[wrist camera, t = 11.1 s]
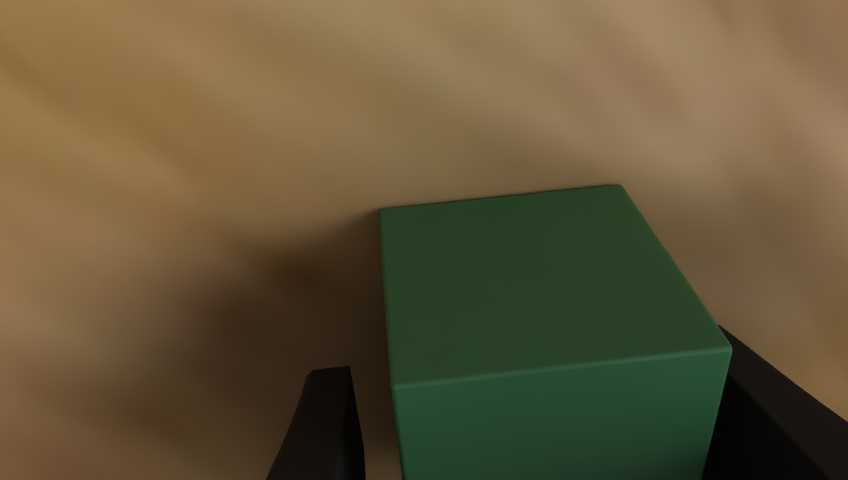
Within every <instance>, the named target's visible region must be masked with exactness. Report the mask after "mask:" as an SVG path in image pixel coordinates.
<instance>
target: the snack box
mask: <svg viewBox="0 0 848 480" xmlns="http://www.w3.org/2000/svg"><path fill="white" fill-rule="evenodd" d="M378 217H379V231H380V246H381V260H382V274H383V288H384V302H385V316H386V330H387V344H388V358H389V373H390V387H391V395H392V402H393V410H394V418H395V426H396V433H397V441H398V449H399V456H400V464H401V472H402V480H702V476H703V471H704V467H705V463H706V459H707V455H708V451H709V446H710V442H711V438H712V434H713V430H714V426H715V421H716V417H717V413H718V409H719V405H720V401H721V396H722V392H723V388H724V384H725V380H726V376H727V371H728V367H729V363H730V359H731V355H732V346H731V344H730V343H729V341H728V340H727V338H726V337H725V336H724V334H723V333H722V331H721V330H720V328H719V327H718V325H717V324H716V322H715V321H714V320H713V318H712V317H711V315H710V314H709V312H708V311H707V309H706V308H705V306H704V305H703V303H702V302H701V301H700V299H699V298H698V296H697V295H696V293H695V292H694V290H693V289H692V287H691V286H690V285H689V283H688V282H687V280H686V279H685V277H684V276H683V274H682V273H681V271H680V270H679V268H678V267H677V266H676V264H675V263H674V261H673V260H672V258H671V257H670V255H669V254H668V252H667V251H666V250H665V248H664V247H663V245H662V244H661V242H660V241H659V239H658V238H657V236H656V235H655V233H654V232H653V231H652V229H651V228H650V226H649V225H648V223H647V222H646V220H645V219H644V217H643V216H642V215H641V213H640V212H639V210H638V209H637V207H636V206H635V204H634V203H633V201H632V200H631V198H630V197H629V196H628V194H627V193H626V191H625V190H624V188H623V187H622V186H621V185H610V186H601V187H591V188H581V189H572V190H562V191H552V192H543V193H533V194H524V195H514V196H504V197H495V198H485V199H476V200H466V201H456V202H447V203H437V204H427V205H418V206H408V207H399V208H389V209H381V210H379V213H378Z"/></svg>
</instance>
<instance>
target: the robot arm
mask: <svg viewBox="0 0 848 480" xmlns="http://www.w3.org/2000/svg"><path fill="white" fill-rule="evenodd" d="M717 325H718V324H717ZM718 327H719V328H720V330H721V331H722V333H723V334H724V336H725V337H726V338H727V340H728V341H729V343H730V344H731V346H732V355H731V359H730V363H729V367H728V371H727V376H726V380H725V384H724V388H723V392H722V396H721V401H720V405H719V409H718V413H717V417H716V421H715V426H714V430H713V434H712V438H711V442H710V446H709V451H708V455H707V459H706V463H705V467H704V471H703V476H702V480H848V422H847V421H845V420H844V419H842V418H841V417H840V416H838V415H837V414H836V413H834V412H833V411H831V410H830V409H829V408H827V407H826V406H824V405H823V404H822V403H820V402H819V401H818V400H816V399H815V398H814V397H812V396H811V395H810V394H808V393H807V392H806V391H804V390H803V389H802V388H800V387H799V386H798V385H796V384H795V383H794V382H792V381H791V380H790V379H788V378H787V377H786V376H785V375H783V374H782V373H781V372H779V371H778V370H777V369H776V368H774V367H773V366H772V365H770V364H769V363H768V362H766V361H765V360H764V359H763V358H761V357H760V356H759V355H758V354H756V353H755V352H754V351H752V350H751V349H750V348H749V347H747V346H746V345H745V344H743V343H742V342H741V341H740V340H738V339H737V338H736V337H734V336H733V335H732V334H730V333H729V332H728V331H726V330H725V329H724V328H722V327H721V326H720V325H718ZM266 480H366V477H365V458H364V446H363V440H362V435H361V429H360V423H359V417H358V411H357V405H356V399H355V394H354V388H353V382H352V376H351V370H350V366H343V367H334V368H325V369H316V370H312V371H311V372H310V373H309V374H308V375H307V377H306V381H305V384H304V388H303V391H302V394H301V397H300V400H299V403H298V405H297V408H296V411H295V414H294V416H293V419H292V421H291V424H290V426H289V429H288V431H287V434H286V436H285V438H284V441H283V443H282V445H281V447H280V450H279V452H278V454H277V456H276V458H275V461H274V463H273V465H272V467H271V469H270V472H269V474H268V476H267V478H266Z"/></svg>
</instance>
